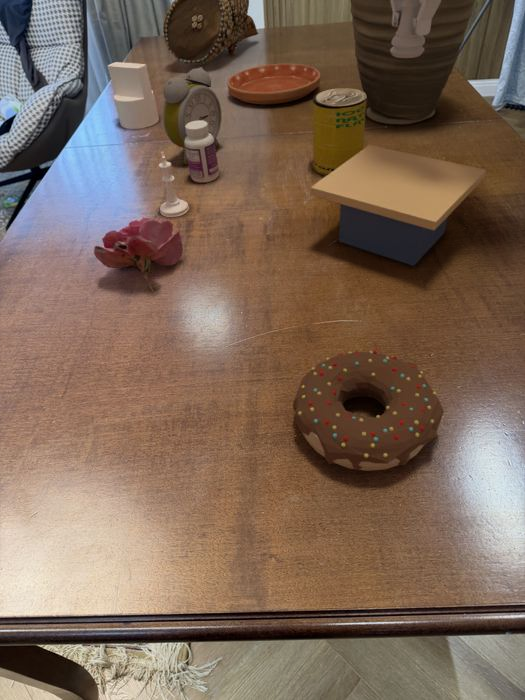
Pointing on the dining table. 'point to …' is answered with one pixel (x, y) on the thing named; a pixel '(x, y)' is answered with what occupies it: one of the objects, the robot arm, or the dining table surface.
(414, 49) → the rook chess piece
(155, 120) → the cylinder with rectangular tab
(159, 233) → the flower
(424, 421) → the donut
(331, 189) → the board box
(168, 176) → the chess piece
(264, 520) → the dining table surface
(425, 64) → the vase
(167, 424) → the dining table surface
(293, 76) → the saucer
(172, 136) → the alarm clock
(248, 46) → the dining table surface
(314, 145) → the beverage can
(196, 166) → the pill bottle
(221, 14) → the basket
